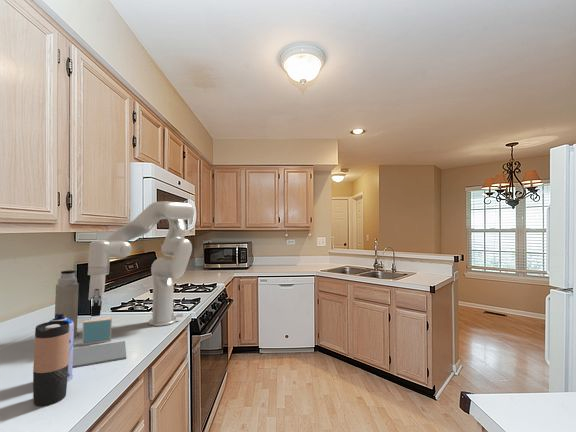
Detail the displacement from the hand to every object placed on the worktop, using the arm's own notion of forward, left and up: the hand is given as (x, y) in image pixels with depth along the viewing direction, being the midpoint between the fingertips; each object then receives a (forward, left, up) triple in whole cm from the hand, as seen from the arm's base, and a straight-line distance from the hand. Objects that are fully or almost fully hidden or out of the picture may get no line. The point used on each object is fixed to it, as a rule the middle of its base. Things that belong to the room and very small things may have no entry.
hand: (96, 313), depth 128 cm
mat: (0, +15, -12) cm, 19 cm away
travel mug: (+8, +44, -12) cm, 46 cm away
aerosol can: (+8, +32, -12) cm, 35 cm away
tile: (-1, 0, -12) cm, 12 cm away
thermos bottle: (+11, -13, -12) cm, 21 cm away
